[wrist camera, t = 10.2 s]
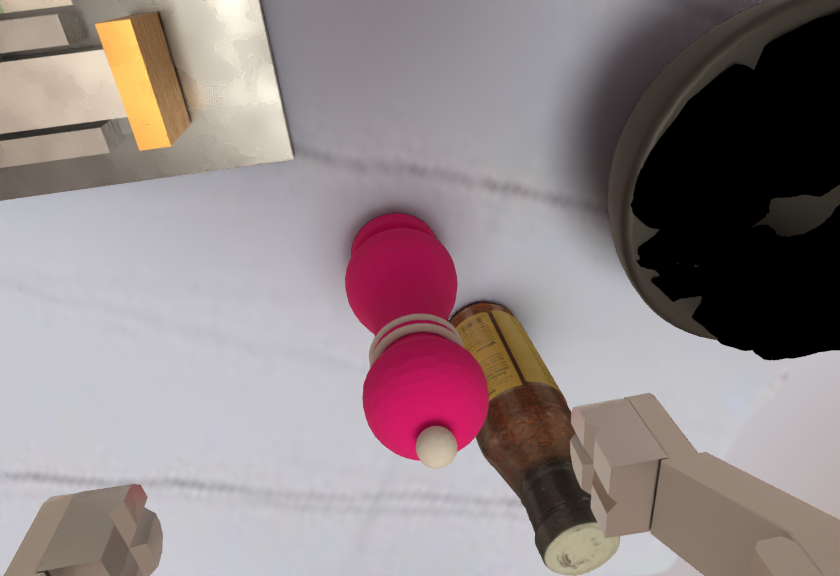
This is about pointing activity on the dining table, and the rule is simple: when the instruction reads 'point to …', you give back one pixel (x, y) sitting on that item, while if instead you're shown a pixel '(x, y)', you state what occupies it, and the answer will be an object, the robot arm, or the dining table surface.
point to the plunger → (99, 84)
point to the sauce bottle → (532, 440)
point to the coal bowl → (739, 183)
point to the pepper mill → (414, 342)
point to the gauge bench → (198, 79)
